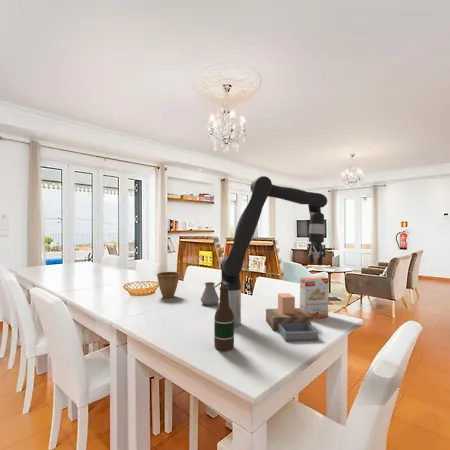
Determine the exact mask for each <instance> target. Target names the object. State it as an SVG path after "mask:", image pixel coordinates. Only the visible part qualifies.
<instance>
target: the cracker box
mask: <svg viewBox="0 0 450 450" xmlns="http://www.w3.org/2000/svg"><path fill="white" fill-rule="evenodd" d="M299 279H300V280H299V308H301V309H302V310H303V311H305V312H306V313H307V314H308V315H310V316H311V320H312V319H319V318H321V319H322V318H328V317H329V280H330V279H329V278H328V277H325V276H311V277H310V276H307V277H304V276H303V277H300V278H299Z"/></svg>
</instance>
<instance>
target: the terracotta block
mask: <svg viewBox="0 0 450 450" xmlns="http://www.w3.org/2000/svg"><path fill="white" fill-rule="evenodd" d="M295 303H296V298H295V296H294V295H293V294H291V293H290V292H287V293H286V292H285V293H277V309H278V310H279V311H280V312H281V313H282V314H295V307H296V304H295Z"/></svg>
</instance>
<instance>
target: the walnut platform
mask: <svg viewBox="0 0 450 450" xmlns="http://www.w3.org/2000/svg"><path fill="white" fill-rule="evenodd" d="M265 321H266V323H267V325H268V326H269V327H270V329H271V330H272V331H277V332H278V323H308V324H309V325H311V326H312V319H311V316H310V315H308V314H307V313H306V312H305V311H303V310H302V309H301V308H300V307H296V308H295V314H282V313H281V312H280V311H279V310H278V308H266V309H265Z"/></svg>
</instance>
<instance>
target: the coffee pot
mask: <svg viewBox="0 0 450 450" xmlns="http://www.w3.org/2000/svg"><path fill="white" fill-rule="evenodd" d="M204 285H205V287H204V289H203V290H204V291H203V292H202V295H201V297H200V302H201V303H202V304H203V305H204V306H215V305H216V304H217V303H219V302H220V297H219V295H218V293H217V290H216V288H217V287H218V286H219V285H222V281H220V282H219V283H218V284H216V283H215V282H212V281H209V282H208V281H207V282H205V283H204Z"/></svg>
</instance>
